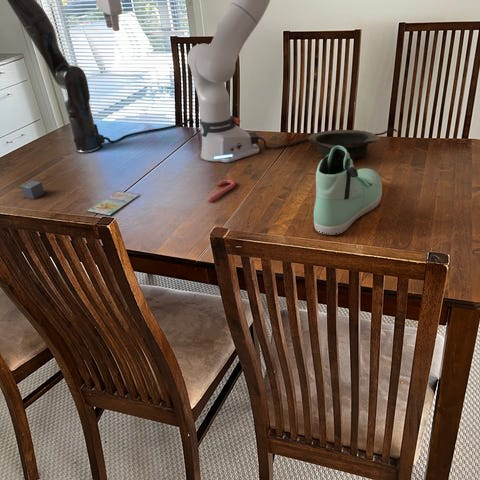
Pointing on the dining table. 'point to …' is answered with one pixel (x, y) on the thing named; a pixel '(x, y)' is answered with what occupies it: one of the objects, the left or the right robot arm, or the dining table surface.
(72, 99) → the left robot arm
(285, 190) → the dining table surface
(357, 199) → the sneaker
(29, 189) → the block
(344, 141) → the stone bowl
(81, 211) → the dining table surface
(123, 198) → the baking ingredient package
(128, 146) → the dining table surface
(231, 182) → the candy cane
